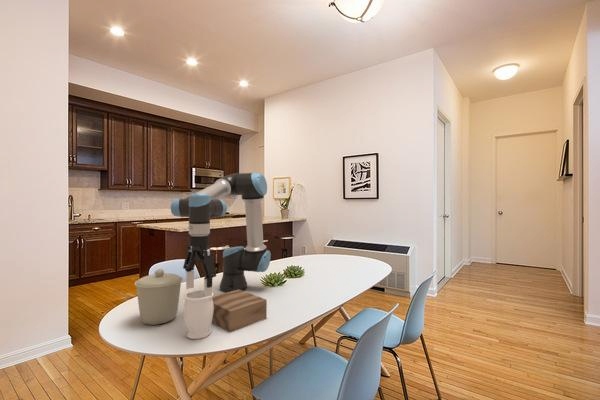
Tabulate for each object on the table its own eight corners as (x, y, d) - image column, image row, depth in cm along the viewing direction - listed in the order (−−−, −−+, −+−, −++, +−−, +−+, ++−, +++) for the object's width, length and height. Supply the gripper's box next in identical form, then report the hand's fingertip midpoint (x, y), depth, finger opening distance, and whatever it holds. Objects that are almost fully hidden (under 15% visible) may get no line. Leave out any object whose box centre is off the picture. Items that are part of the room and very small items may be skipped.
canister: (174, 328, 115) (174, 274, 115) (125, 330, 113) (125, 275, 113) (187, 311, 133) (188, 264, 133) (146, 312, 131) (146, 264, 131)
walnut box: (203, 317, 126) (203, 298, 126) (238, 306, 139) (238, 289, 139) (230, 332, 112) (230, 311, 112) (266, 318, 125) (266, 299, 125)
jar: (196, 343, 103) (196, 301, 103) (177, 336, 109) (177, 295, 108) (219, 332, 112) (219, 292, 112) (201, 325, 118) (201, 288, 117)
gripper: (174, 233, 116) (174, 287, 116) (207, 238, 99) (206, 302, 99) (192, 231, 121) (192, 283, 121) (226, 237, 104) (226, 297, 104)
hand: (198, 292), depth 110 cm, fingers open, 13 cm apart
